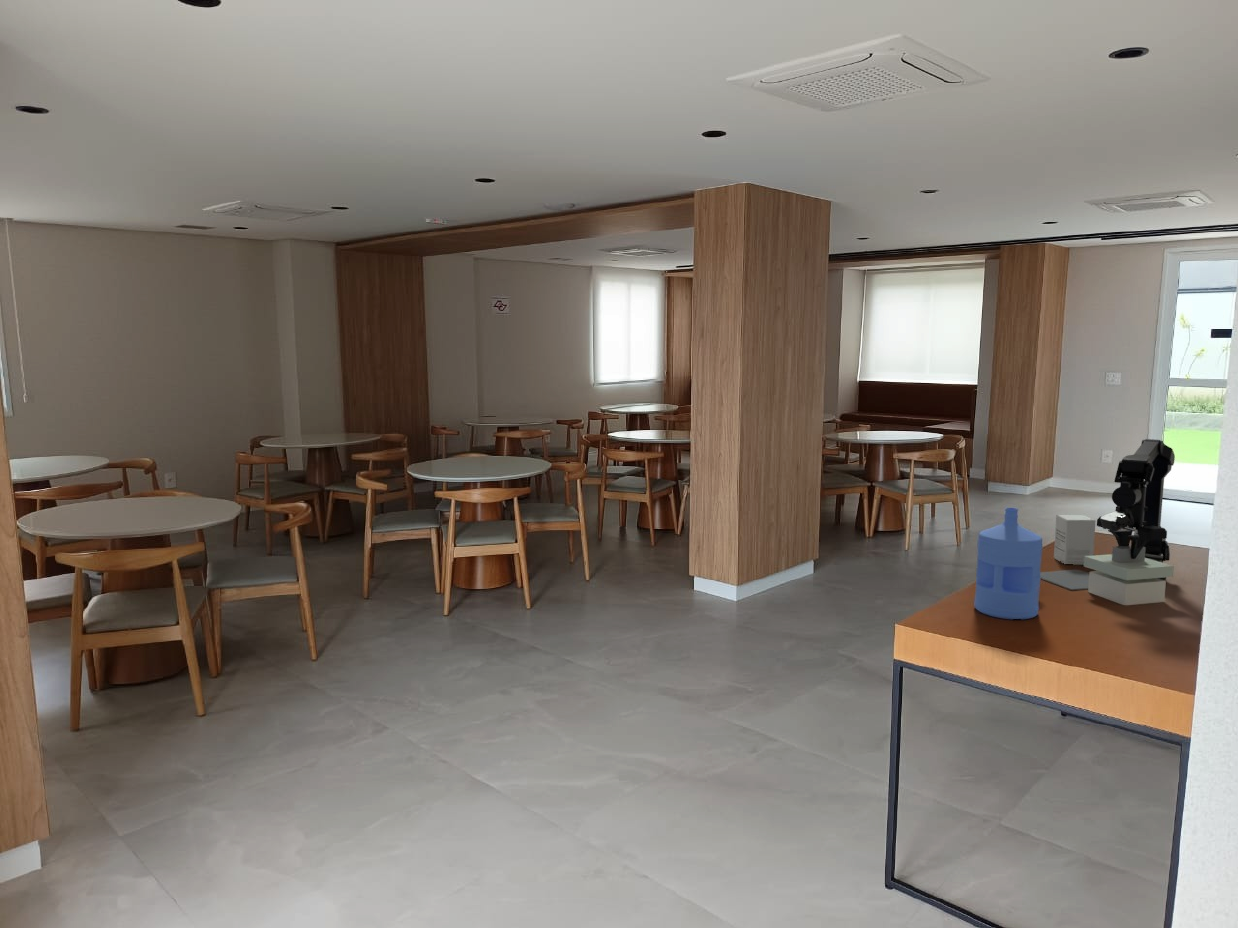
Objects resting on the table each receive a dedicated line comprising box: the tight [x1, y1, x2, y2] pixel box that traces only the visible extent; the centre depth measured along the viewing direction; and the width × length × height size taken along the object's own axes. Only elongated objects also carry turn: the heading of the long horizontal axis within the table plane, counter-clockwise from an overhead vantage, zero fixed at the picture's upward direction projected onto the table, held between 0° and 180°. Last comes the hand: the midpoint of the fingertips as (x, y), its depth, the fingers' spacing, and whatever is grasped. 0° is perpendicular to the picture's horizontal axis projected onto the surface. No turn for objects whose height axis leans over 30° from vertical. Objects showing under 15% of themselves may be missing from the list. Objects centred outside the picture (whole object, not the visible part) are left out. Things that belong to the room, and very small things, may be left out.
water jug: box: [973, 507, 1043, 620], centre depth 221 cm, size 16×16×28 cm
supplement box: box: [1053, 514, 1097, 566], centre depth 273 cm, size 9×9×15 cm
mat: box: [1040, 569, 1090, 591], centre depth 252 cm, size 18×18×1 cm
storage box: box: [1087, 570, 1167, 606], centre depth 234 cm, size 13×13×6 cm
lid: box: [1083, 544, 1175, 580], centre depth 233 cm, size 15×15×7 cm
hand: (1128, 557), depth 233 cm, fingers closed on lid, 3 cm apart
